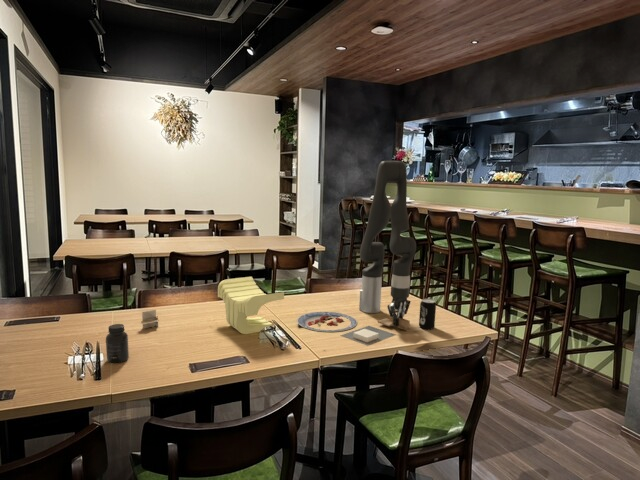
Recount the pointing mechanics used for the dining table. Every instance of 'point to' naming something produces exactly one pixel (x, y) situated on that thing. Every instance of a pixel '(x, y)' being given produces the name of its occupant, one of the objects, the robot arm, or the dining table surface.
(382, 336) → the slate board
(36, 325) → the dining table surface
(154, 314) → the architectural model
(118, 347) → the supplement bottle
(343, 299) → the dining table surface
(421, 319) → the beverage can
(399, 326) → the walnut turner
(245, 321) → the slatted curved stool
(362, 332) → the tile
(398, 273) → the robot arm
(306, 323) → the ceramic plate
